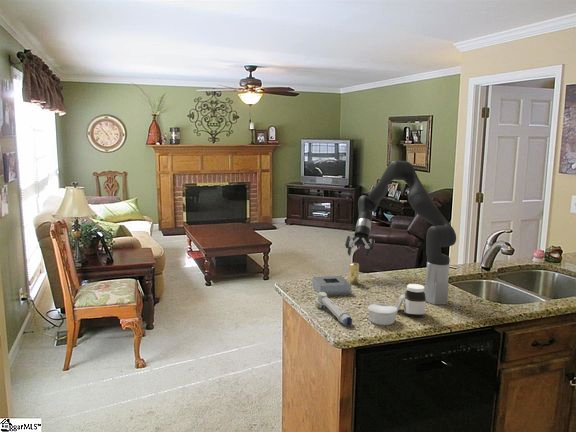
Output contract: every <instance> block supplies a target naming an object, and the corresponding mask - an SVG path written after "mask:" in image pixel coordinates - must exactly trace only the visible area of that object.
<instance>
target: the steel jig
mask: <svg viewBox="0 0 576 432" xmlns="http://www.w3.org/2000/svg"><path fill="white" fill-rule="evenodd" d="M351 287H352V284H350V283H349V280H347V279H346V278H344V276H342V275H326V276H325V275H324V276H323V275H322V276H312V288H313V289H315V291H316V293H317V294H319V292H325V293H326V294H327V296H341V295H344V296H345V295H351V290H352V288H351Z"/></svg>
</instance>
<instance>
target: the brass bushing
mask: <svg viewBox="0 0 576 432" xmlns="http://www.w3.org/2000/svg"><path fill="white" fill-rule="evenodd" d="M348 273H349V276H348V277H349V278H348V279H349V280H348V282H349V283H350V284H351V285H358V284H359V273H360V263H358V262H350V263H349V272H348Z"/></svg>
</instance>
